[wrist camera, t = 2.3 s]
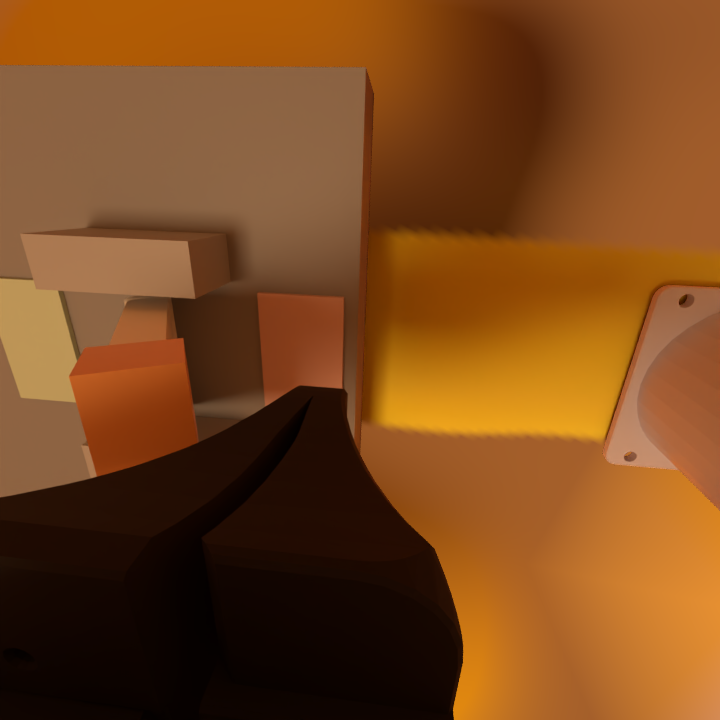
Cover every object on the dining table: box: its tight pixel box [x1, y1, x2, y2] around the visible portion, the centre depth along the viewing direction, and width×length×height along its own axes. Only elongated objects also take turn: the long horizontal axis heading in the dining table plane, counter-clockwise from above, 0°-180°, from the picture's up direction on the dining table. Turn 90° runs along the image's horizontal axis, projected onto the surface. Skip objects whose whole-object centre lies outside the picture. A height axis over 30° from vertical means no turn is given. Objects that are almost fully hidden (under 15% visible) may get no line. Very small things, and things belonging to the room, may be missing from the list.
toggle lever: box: [69, 295, 199, 476], centre depth 12 cm, size 2×5×7 cm, turn 178°
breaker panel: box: [0, 65, 374, 497], centre depth 15 cm, size 18×18×6 cm
